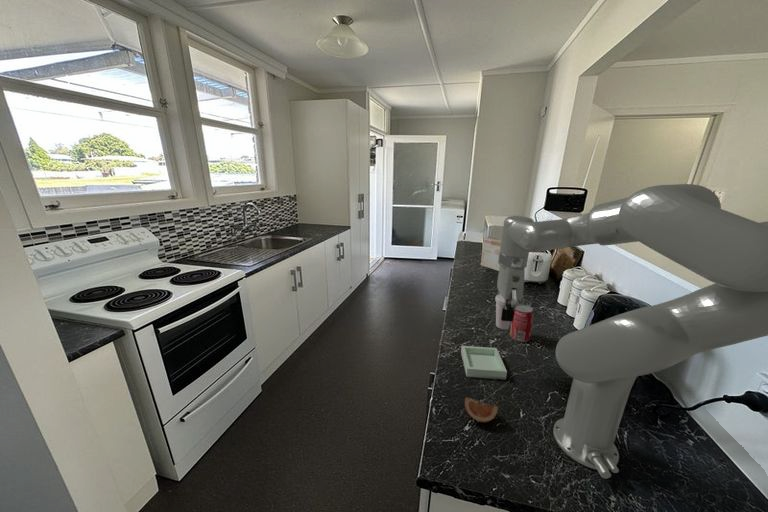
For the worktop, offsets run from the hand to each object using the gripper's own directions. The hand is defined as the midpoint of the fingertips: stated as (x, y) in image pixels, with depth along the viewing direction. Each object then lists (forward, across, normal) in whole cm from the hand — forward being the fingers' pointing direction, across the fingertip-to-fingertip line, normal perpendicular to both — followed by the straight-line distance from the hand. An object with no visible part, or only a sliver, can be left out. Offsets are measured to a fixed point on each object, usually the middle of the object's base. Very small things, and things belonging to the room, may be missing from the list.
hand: (503, 314), depth 84 cm
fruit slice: (+20, -21, +8) cm, 30 cm away
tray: (+20, +1, +4) cm, 21 cm away
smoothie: (+4, 0, 0) cm, 4 cm away
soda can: (+21, +19, -13) cm, 31 cm away
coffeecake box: (+23, +104, -21) cm, 109 cm away
